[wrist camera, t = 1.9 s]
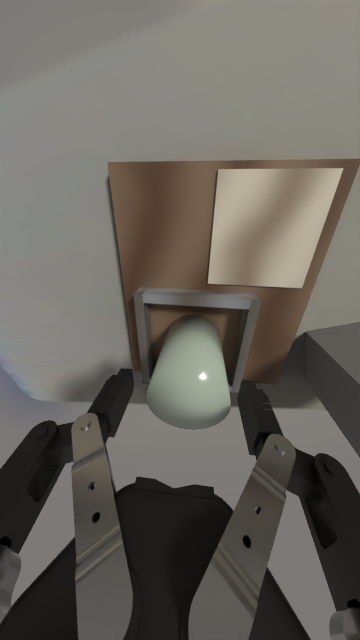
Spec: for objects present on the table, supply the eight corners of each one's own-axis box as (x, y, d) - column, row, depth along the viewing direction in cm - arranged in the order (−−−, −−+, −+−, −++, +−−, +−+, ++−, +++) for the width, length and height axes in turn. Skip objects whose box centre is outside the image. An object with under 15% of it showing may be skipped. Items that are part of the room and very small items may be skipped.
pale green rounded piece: (223, 316, 17) (237, 375, 10) (214, 375, 21) (220, 451, 14) (166, 312, 18) (143, 367, 11) (167, 371, 21) (150, 441, 14)
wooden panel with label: (350, 164, 12) (391, 145, 9) (273, 378, 21) (283, 399, 19) (113, 166, 14) (92, 151, 11) (137, 365, 23) (128, 383, 20)
